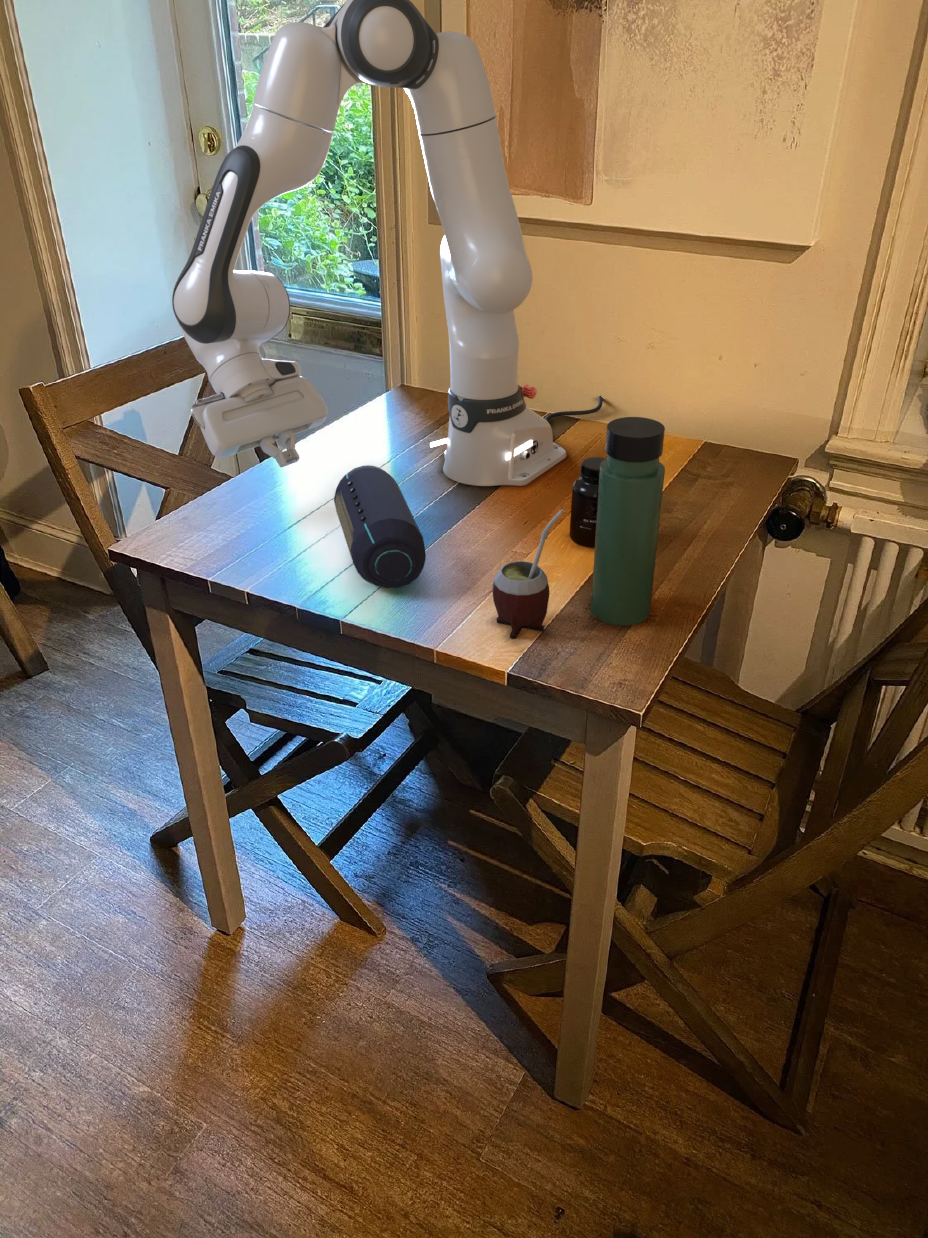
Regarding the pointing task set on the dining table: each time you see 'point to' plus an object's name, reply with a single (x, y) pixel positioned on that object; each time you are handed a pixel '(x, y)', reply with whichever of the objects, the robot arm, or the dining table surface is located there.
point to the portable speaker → (379, 528)
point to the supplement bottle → (585, 503)
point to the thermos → (628, 521)
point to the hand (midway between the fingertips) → (290, 463)
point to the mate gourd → (523, 591)
